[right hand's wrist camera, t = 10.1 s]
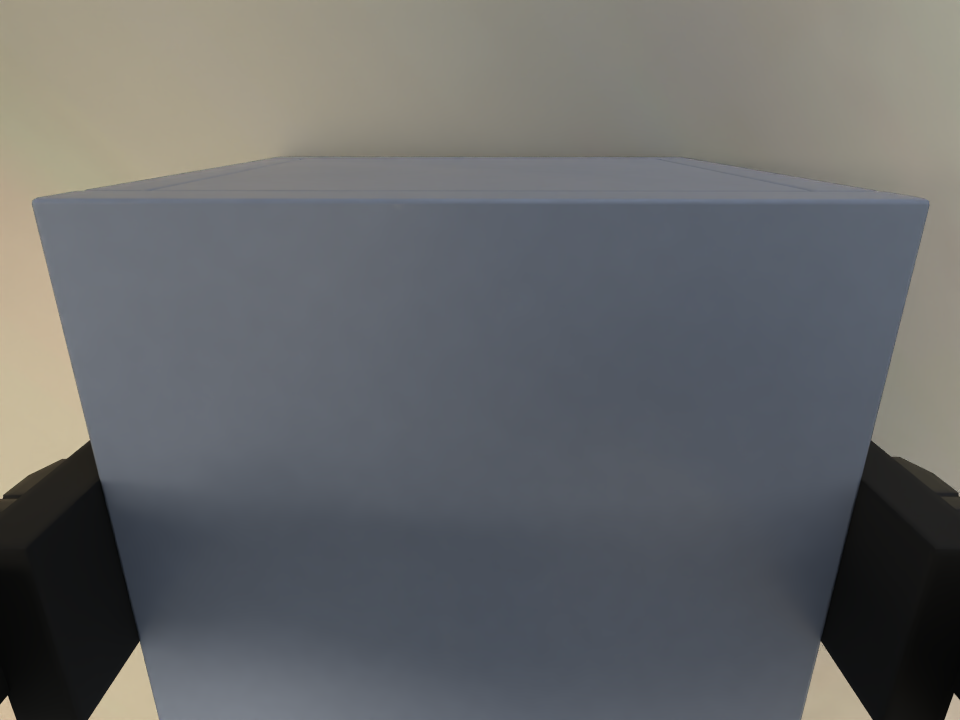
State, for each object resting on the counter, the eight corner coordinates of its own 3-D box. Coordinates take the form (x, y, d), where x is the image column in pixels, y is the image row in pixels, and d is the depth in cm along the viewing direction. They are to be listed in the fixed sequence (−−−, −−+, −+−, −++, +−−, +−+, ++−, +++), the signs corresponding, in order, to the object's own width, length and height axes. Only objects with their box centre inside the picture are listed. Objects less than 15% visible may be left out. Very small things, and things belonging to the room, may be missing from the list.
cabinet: (617, 755, 23) (699, 1132, 14) (342, 754, 23) (259, 1132, 14) (683, 156, 15) (933, 198, 7) (277, 156, 15) (27, 197, 7)
